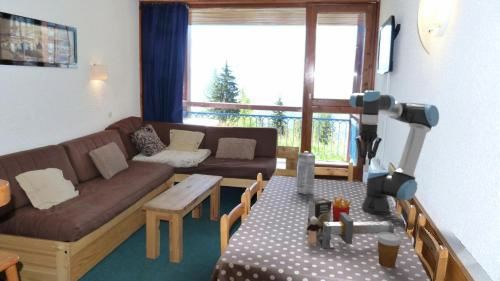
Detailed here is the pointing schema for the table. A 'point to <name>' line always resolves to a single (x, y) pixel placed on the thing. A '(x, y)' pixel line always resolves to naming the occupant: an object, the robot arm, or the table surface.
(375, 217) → the table surface
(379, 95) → the robot arm
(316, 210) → the coffee box
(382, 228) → the grey crossbar beam
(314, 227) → the grandmother figurine
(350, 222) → the grey flat piece
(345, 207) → the french fries
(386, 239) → the disposable coffee cup
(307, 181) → the juice carton
